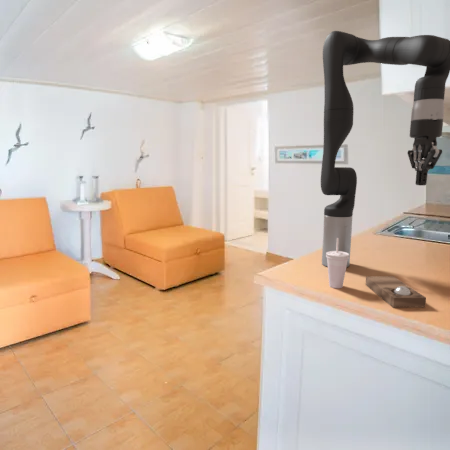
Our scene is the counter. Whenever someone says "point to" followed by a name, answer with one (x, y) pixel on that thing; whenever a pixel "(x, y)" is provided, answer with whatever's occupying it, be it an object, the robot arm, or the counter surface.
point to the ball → (402, 291)
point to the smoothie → (336, 266)
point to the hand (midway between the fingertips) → (420, 185)
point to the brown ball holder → (386, 288)
